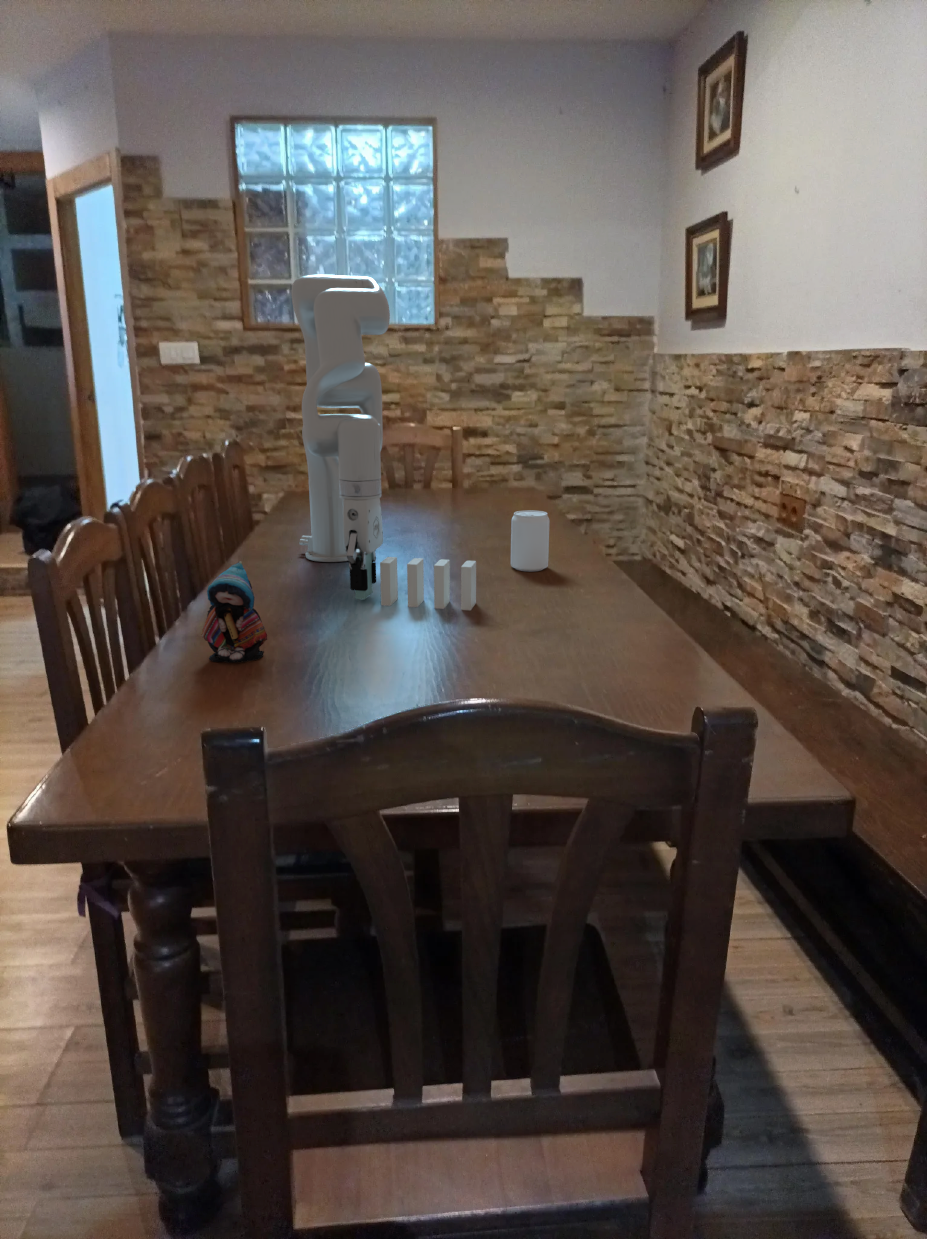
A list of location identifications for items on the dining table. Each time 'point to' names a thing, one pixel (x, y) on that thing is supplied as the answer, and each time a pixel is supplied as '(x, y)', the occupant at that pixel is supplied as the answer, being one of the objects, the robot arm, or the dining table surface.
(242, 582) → the figurine
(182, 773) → the dining table surface
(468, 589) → the domino
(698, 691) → the dining table surface
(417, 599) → the domino
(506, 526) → the dining table surface
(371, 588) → the domino
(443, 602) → the domino
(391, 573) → the domino
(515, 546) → the beverage can
